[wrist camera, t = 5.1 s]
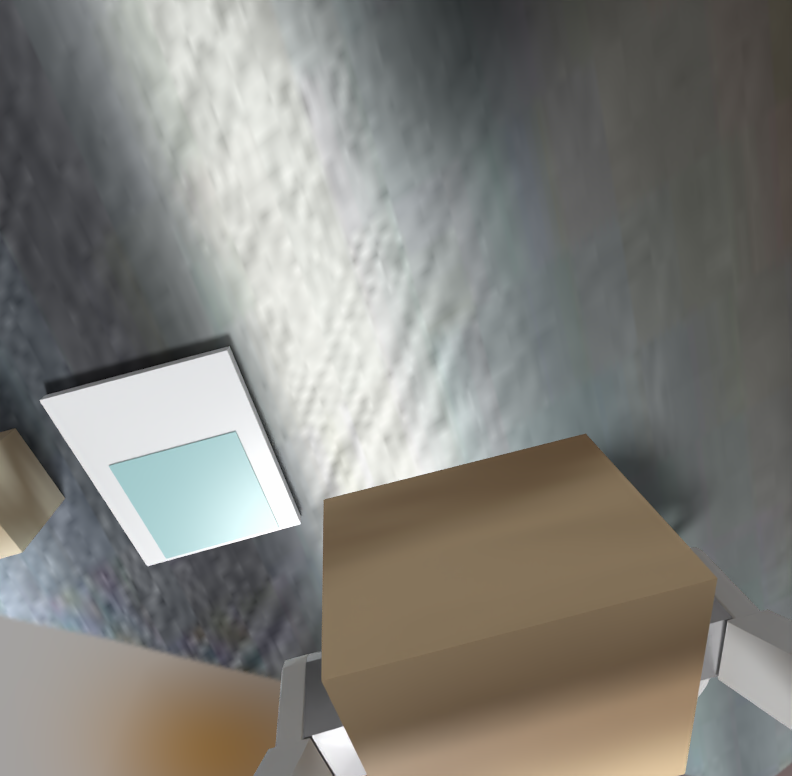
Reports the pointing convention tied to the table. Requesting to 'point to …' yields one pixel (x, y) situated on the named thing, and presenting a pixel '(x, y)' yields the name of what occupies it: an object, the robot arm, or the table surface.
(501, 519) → the oak block
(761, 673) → the robot arm
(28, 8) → the table surface
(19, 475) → the maple block
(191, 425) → the plate
